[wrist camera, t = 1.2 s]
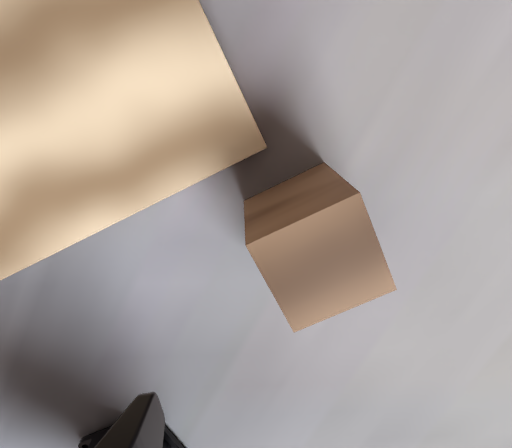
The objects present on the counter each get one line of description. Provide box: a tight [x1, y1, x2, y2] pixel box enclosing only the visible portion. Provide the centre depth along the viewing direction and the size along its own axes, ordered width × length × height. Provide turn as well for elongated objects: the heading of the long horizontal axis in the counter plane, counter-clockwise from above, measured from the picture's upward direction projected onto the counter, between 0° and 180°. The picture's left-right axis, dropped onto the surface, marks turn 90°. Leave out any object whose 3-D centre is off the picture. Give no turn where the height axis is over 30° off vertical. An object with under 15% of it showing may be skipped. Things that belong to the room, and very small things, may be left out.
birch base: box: [0, 0, 267, 280], centre depth 15 cm, size 16×16×2 cm
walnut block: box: [244, 163, 397, 332], centre depth 17 cm, size 5×5×6 cm
